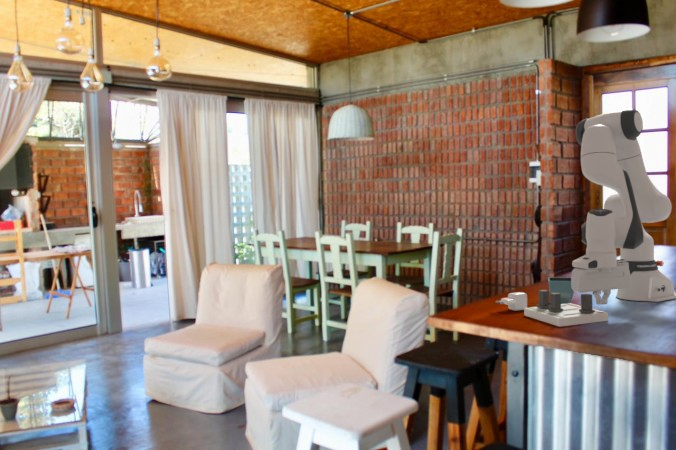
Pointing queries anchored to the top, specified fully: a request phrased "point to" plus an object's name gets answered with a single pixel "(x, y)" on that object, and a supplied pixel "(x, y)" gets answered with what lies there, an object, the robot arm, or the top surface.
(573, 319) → the panel
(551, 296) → the middle handle
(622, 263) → the robot arm
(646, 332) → the top surface
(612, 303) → the top surface
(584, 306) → the handle
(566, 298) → the flower pot
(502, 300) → the power adapter
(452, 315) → the top surface
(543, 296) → the far handle
